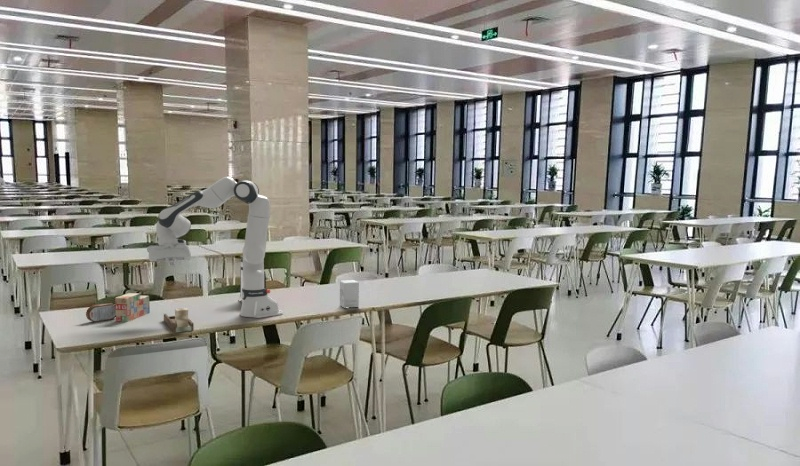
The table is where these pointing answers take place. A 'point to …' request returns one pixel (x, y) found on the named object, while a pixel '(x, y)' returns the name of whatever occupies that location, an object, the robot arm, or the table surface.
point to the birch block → (181, 317)
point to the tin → (101, 312)
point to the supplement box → (349, 293)
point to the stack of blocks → (131, 306)
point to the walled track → (171, 323)
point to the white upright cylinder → (242, 278)
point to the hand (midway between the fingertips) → (171, 266)
